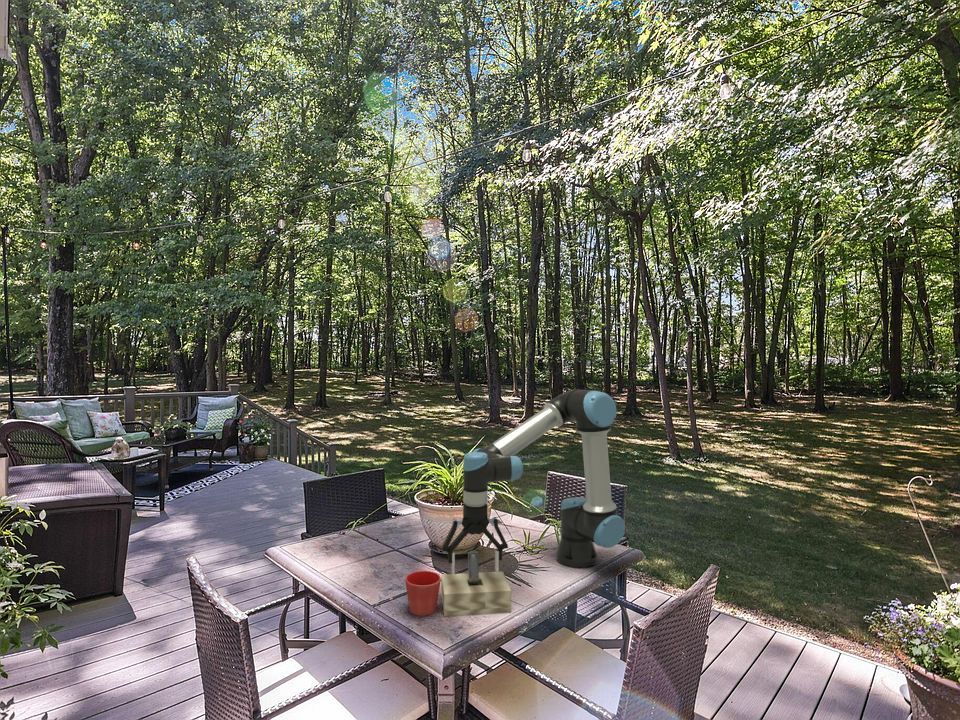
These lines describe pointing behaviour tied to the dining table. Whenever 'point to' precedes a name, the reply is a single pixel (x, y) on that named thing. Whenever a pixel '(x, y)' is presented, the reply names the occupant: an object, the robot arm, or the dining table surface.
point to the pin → (473, 568)
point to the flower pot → (422, 591)
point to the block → (475, 594)
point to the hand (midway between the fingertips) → (475, 572)
